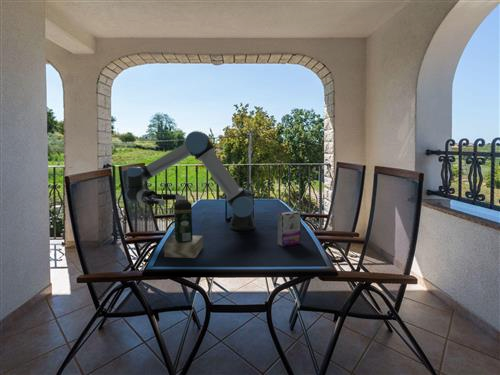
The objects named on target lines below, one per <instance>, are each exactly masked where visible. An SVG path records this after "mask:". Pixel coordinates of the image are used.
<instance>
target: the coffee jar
mask: <svg viewBox="0 0 500 375" xmlns="http://www.w3.org/2000/svg"><path fill="white" fill-rule="evenodd" d="M192 211H193V209H192V203H191V202H190V201H189V200H187V199H186V200H175V202H174V203H173V219H174V220H173V221H174V222H173V223H174V235H175V239H176V241H177V242H188V241H191V240H192V239H193V237H192V235H193V216H192V215H193V214H192V213H193V212H192Z"/></svg>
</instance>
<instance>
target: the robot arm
mask: <svg viewBox="0 0 500 375" xmlns="http://www.w3.org/2000/svg"><path fill="white" fill-rule="evenodd" d="M185 137H186V138H185V141H184V142H183V144H181V145H180V146H179V147H176V148H174V149H173V150H171V151H170V152H168V153H166V154H164V155H163V156H160V157H158V158H157V159H156V160H154V161H152V162H150V163H148V164H146V165H145V166H143V167H141V166H130V167H127V172H126V173H127V182H128V183H127V186H128V188H127V189H126V190H125V192H124V196H125V199H126V200H127V201H129V202H132V203H139V204H143V205H147V206H152V207H154V206H155V205H157V206H161V207H164V206H166V205H165V201H170V200H171V201H174V200H175V201H178V200H187V199H186V195H181V194H180V193H161V194H160V193H157V191H155V190H151V189H144V182H147V181H149V180H150V179H151V178H153V177H155V176H157V175H159V174H160V173H162V172H163V171H166V170H167V169H170V168H171V167H173V166H174V165H176V164H178V163H180V162H182V161H184V160H185V159H187V158H188V157H194V158H195V159H196V160H197V161H200V162H201V163H202V165H204V167H205V169H206V170H207V171H208V172H209V174H210V175H211V177H212V178H213V180H214V181H215V182H216V184H217V185H218V186H219V188H220V189H221V191H222V192H223V193H224V195H225V196H226V199H225V200H226V202H227V203H228V205H229V206H230V208H231V209H232V210H231V211H232V216H231V220H230V223H229V228H230V229H231V230H234V231H244V232H245V231H252V230H254V229H255V228H256V223H255V220H254V217H253V210H254V206H255V205H254V201H253V191H252V189H244V188H243V187H240V186H239V185H238V184H237V182H236V180H235V179H234V178H233V176H232V174H230V172H229V171H228V169H227V168H226V167H225V165H224V164H223V162H222V161H221V159H220V158H219V156H217V154H216V153H215V146H214V145H213V144H212V142H211V141H210V136H208V135H207V134H206V133H205V132H202V131H199V130H195V131H192V132H190V133H188V134H187V136H185Z"/></svg>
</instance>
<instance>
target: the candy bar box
mask: <svg viewBox="0 0 500 375" xmlns="http://www.w3.org/2000/svg"><path fill="white" fill-rule="evenodd" d="M301 214H302V212H300V211H297V210H293V211H292V210H291V211H285V212H278V213H277V245H279V246H281V247H283V248H284V247H288V246H289V247H290V246H294V245H295V246H296V245H300V244H301V232H302V231H301V230H302V228H301V223H302V221H301V216H302V215H301Z"/></svg>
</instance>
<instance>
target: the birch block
mask: <svg viewBox="0 0 500 375" xmlns="http://www.w3.org/2000/svg"><path fill="white" fill-rule="evenodd" d="M192 237H193V239H192V240H191V241H188V242H177V241H176V239H175V234H174V235H172V237H170V238H169V239H168V240H167V241H166V242H164V244H163V246H164V248H163V251H164V258H183V259H185V258H187V259H190V258H191V259H196V258H197V257H198V255H199V253H200V252H201V251H202V250H203V248H204V244H203V243H204V241H203V240H204V236H203V235H193V234H192Z"/></svg>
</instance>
